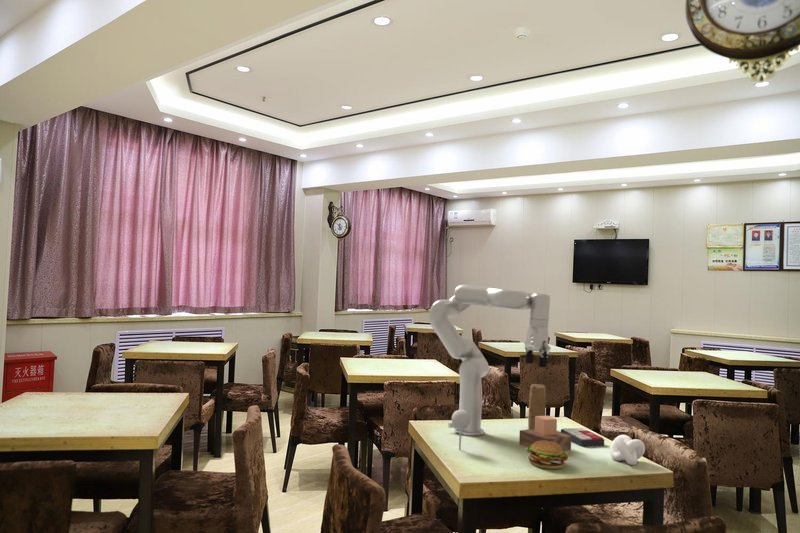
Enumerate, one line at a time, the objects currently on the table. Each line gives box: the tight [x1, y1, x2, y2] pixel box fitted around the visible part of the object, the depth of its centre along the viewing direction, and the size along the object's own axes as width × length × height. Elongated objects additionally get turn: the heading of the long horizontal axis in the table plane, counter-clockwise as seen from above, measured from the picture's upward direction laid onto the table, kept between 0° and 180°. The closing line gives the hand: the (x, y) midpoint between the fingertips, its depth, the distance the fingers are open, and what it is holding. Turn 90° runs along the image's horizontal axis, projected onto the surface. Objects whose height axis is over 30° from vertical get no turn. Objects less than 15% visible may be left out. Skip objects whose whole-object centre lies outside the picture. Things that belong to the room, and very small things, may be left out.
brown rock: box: [527, 383, 547, 429], centre depth 234 cm, size 11×8×20 cm
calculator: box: [560, 427, 605, 448], centre depth 217 cm, size 11×4×15 cm
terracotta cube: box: [535, 415, 558, 435], centre depth 205 cm, size 6×6×6 cm
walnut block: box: [518, 428, 572, 452], centre depth 205 cm, size 14×14×6 cm
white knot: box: [609, 434, 646, 466], centre depth 192 cm, size 11×12×9 cm
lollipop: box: [451, 409, 470, 451], centre depth 196 cm, size 7×7×15 cm
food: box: [527, 440, 570, 470], centre depth 183 cm, size 14×14×8 cm
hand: (535, 365), depth 212 cm, fingers open, 9 cm apart
